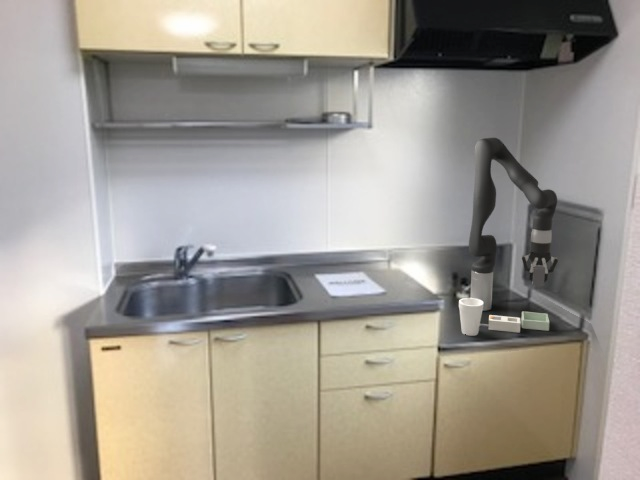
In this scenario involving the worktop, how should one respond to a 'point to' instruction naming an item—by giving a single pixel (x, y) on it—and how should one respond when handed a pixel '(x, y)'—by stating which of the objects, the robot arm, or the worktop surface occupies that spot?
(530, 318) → the tray
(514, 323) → the power strip
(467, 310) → the foam cup
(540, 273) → the block
